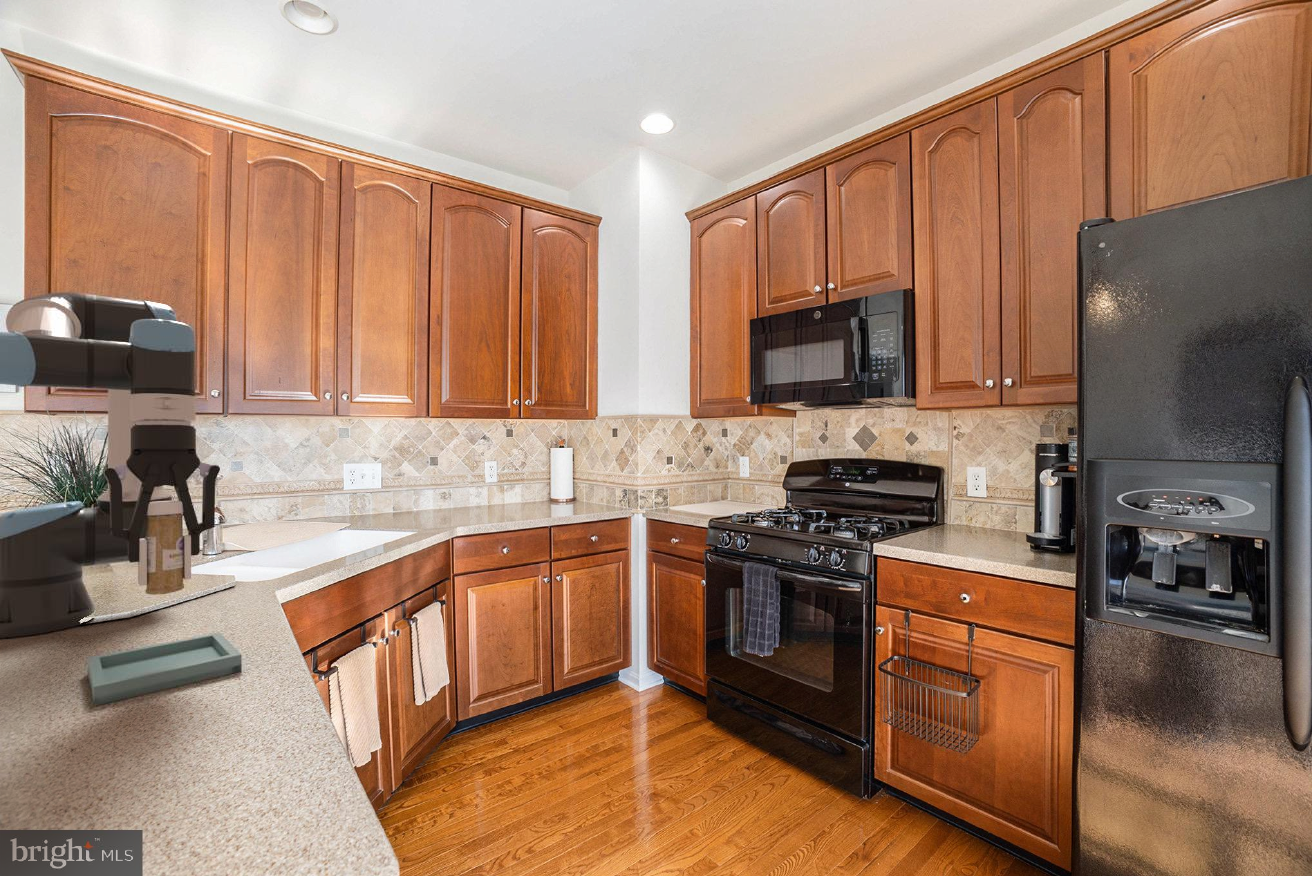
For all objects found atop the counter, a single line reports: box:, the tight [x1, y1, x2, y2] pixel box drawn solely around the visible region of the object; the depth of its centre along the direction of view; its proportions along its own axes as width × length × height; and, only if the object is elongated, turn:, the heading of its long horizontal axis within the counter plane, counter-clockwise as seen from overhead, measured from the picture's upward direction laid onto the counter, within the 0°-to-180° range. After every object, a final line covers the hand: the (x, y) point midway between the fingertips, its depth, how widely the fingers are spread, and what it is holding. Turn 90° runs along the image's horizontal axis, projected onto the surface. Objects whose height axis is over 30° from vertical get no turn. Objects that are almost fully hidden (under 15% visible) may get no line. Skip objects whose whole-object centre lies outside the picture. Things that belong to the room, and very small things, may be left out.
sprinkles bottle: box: [144, 500, 185, 596], centre depth 88 cm, size 5×5×14 cm
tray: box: [87, 632, 243, 707], centre depth 88 cm, size 16×16×2 cm
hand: (164, 580), depth 88 cm, fingers closed on sprinkles bottle, 4 cm apart
